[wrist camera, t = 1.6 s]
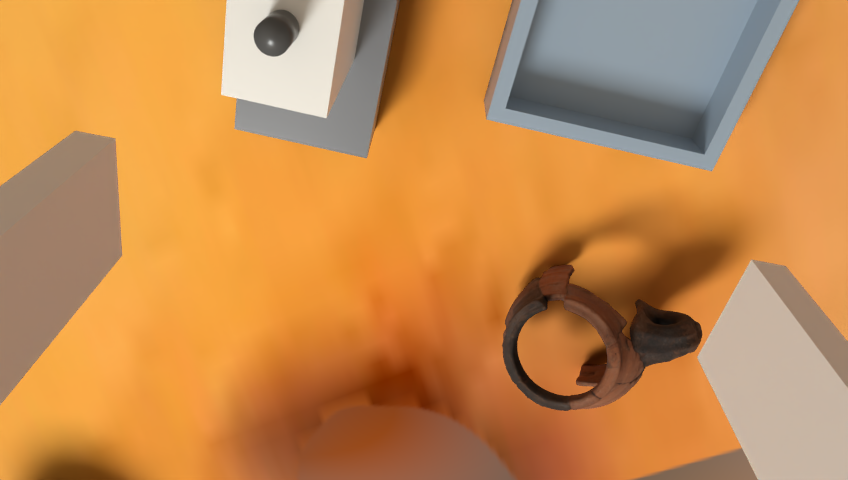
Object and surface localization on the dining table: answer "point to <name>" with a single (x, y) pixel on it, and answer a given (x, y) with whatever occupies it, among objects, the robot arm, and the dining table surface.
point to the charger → (289, 51)
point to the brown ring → (626, 359)
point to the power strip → (353, 104)
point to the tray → (635, 71)
